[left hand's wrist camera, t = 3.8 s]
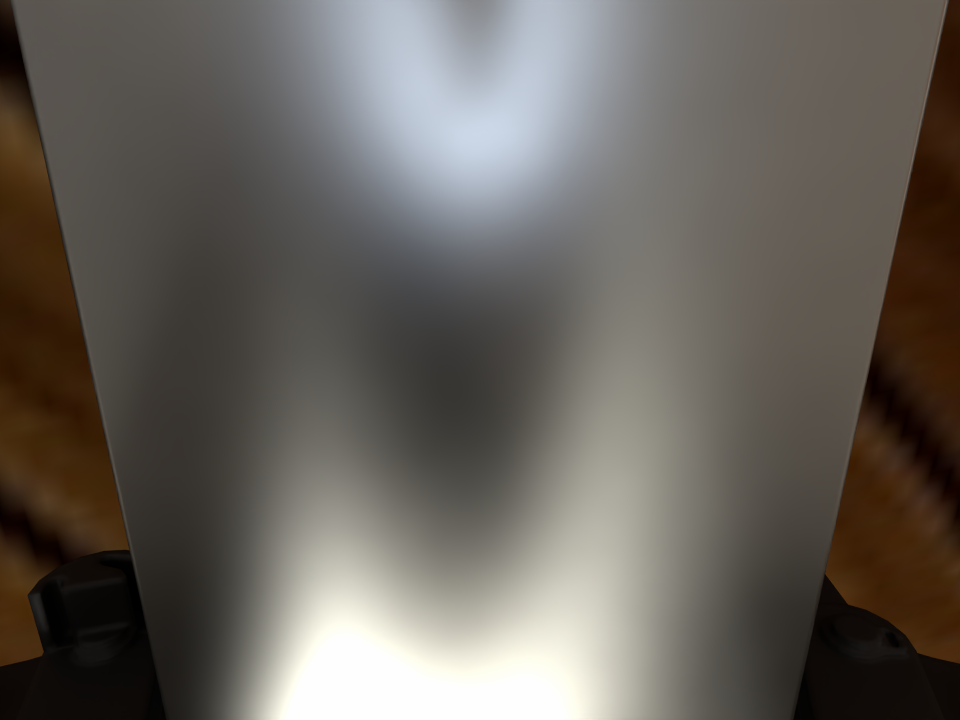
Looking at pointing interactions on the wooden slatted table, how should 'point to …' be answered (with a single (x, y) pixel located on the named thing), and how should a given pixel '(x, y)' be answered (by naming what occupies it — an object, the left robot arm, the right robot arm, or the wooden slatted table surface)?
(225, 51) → the bar
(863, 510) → the wooden slatted table surface
